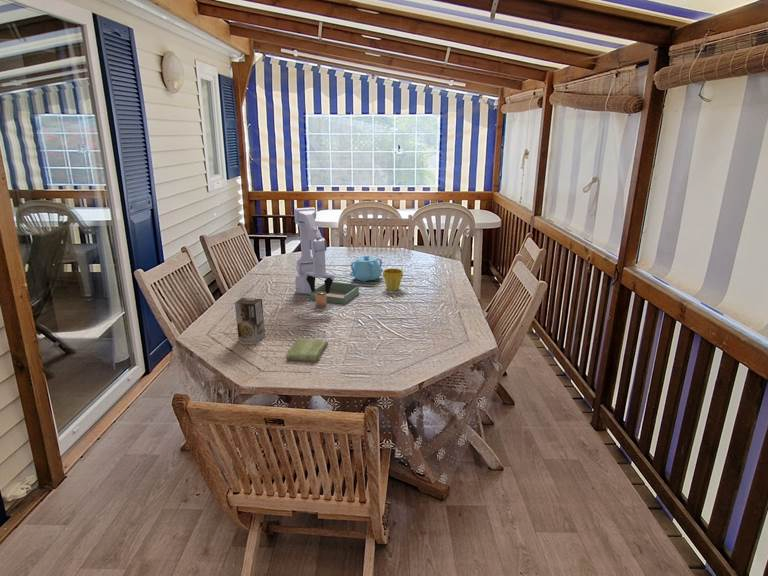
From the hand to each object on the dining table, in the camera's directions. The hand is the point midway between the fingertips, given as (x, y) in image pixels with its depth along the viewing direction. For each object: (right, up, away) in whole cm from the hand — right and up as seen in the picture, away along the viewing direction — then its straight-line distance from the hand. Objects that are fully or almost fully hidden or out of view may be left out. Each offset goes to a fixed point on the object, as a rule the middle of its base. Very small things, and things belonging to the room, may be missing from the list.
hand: (320, 292), depth 239 cm
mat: (0, -7, +2) cm, 7 cm away
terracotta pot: (0, -6, +2) cm, 7 cm away
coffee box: (-23, -18, -35) cm, 46 cm away
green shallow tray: (+5, -2, +15) cm, 16 cm away
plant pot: (+35, +2, +28) cm, 45 cm away
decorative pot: (+20, +7, +46) cm, 51 cm away
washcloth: (+1, -23, -48) cm, 53 cm away
